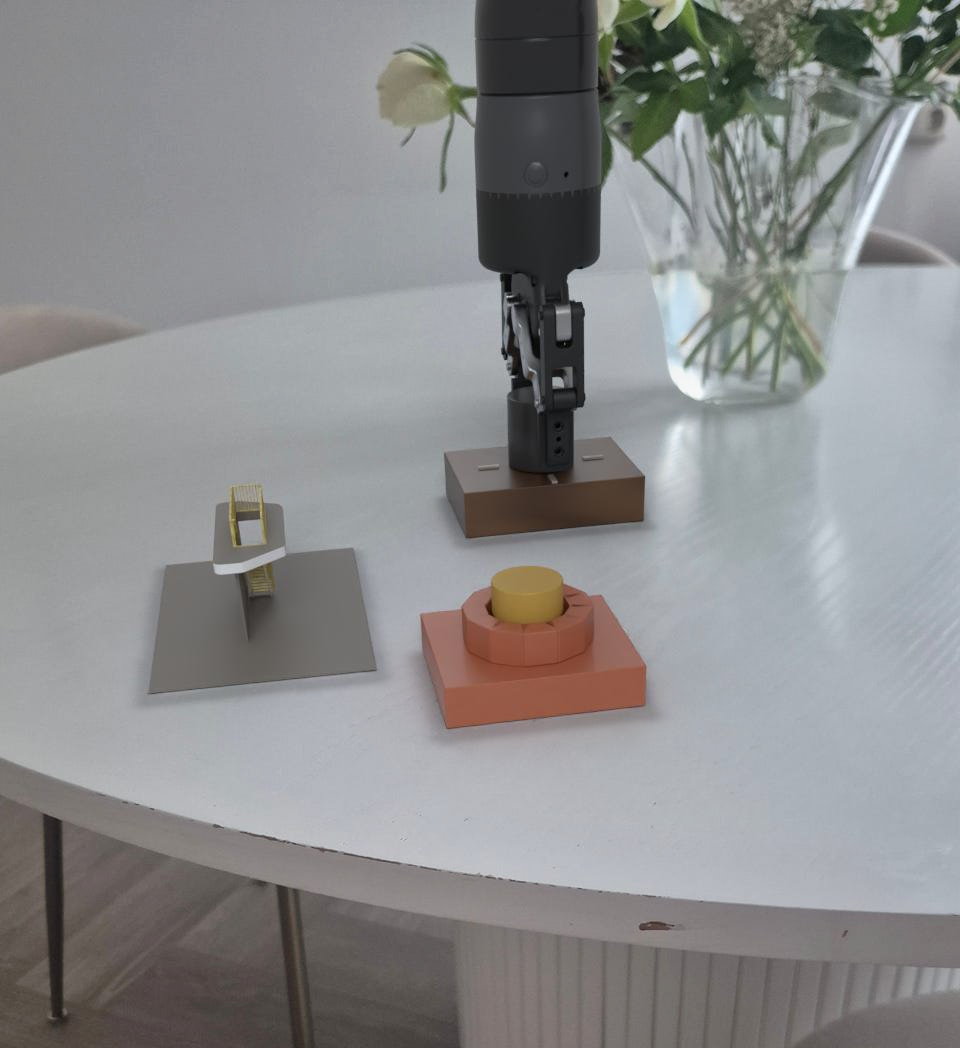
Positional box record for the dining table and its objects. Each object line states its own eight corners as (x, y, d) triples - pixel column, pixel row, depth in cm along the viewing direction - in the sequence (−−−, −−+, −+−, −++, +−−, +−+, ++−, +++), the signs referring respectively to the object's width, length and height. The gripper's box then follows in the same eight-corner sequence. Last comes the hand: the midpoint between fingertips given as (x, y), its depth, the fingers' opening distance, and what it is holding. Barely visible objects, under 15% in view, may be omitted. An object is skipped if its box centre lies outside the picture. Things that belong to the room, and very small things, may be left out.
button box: (600, 631, 70) (602, 562, 68) (645, 705, 63) (648, 631, 60) (422, 650, 69) (417, 581, 66) (446, 728, 61) (442, 654, 59)
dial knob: (502, 456, 86) (500, 383, 84) (564, 449, 87) (564, 378, 84) (516, 476, 83) (515, 401, 80) (581, 469, 84) (581, 394, 81)
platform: (352, 547, 82) (342, 446, 78) (376, 669, 67) (365, 551, 63) (165, 565, 80) (146, 462, 77) (148, 693, 66) (123, 574, 62)
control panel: (609, 478, 91) (610, 434, 89) (643, 520, 84) (645, 473, 82) (446, 493, 90) (443, 449, 88) (466, 538, 82) (463, 490, 81)
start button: (554, 594, 65) (554, 561, 64) (570, 622, 62) (570, 589, 61) (486, 601, 65) (485, 569, 64) (498, 630, 62) (497, 596, 61)
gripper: (630, 189, 70) (623, 479, 79) (572, 162, 82) (571, 417, 91) (498, 199, 69) (506, 490, 78) (457, 169, 81) (469, 426, 90)
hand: (541, 450), depth 85 cm, fingers open, 8 cm apart
